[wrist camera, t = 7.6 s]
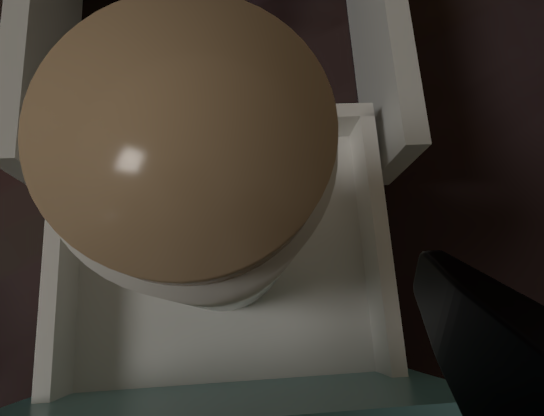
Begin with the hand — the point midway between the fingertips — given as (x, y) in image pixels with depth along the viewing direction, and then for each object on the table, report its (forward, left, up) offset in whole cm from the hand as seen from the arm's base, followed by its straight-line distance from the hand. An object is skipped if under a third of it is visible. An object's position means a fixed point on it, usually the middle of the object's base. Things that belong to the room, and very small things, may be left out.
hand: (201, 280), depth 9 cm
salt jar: (+2, 0, -9) cm, 10 cm away
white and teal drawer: (+2, 0, -11) cm, 11 cm away
